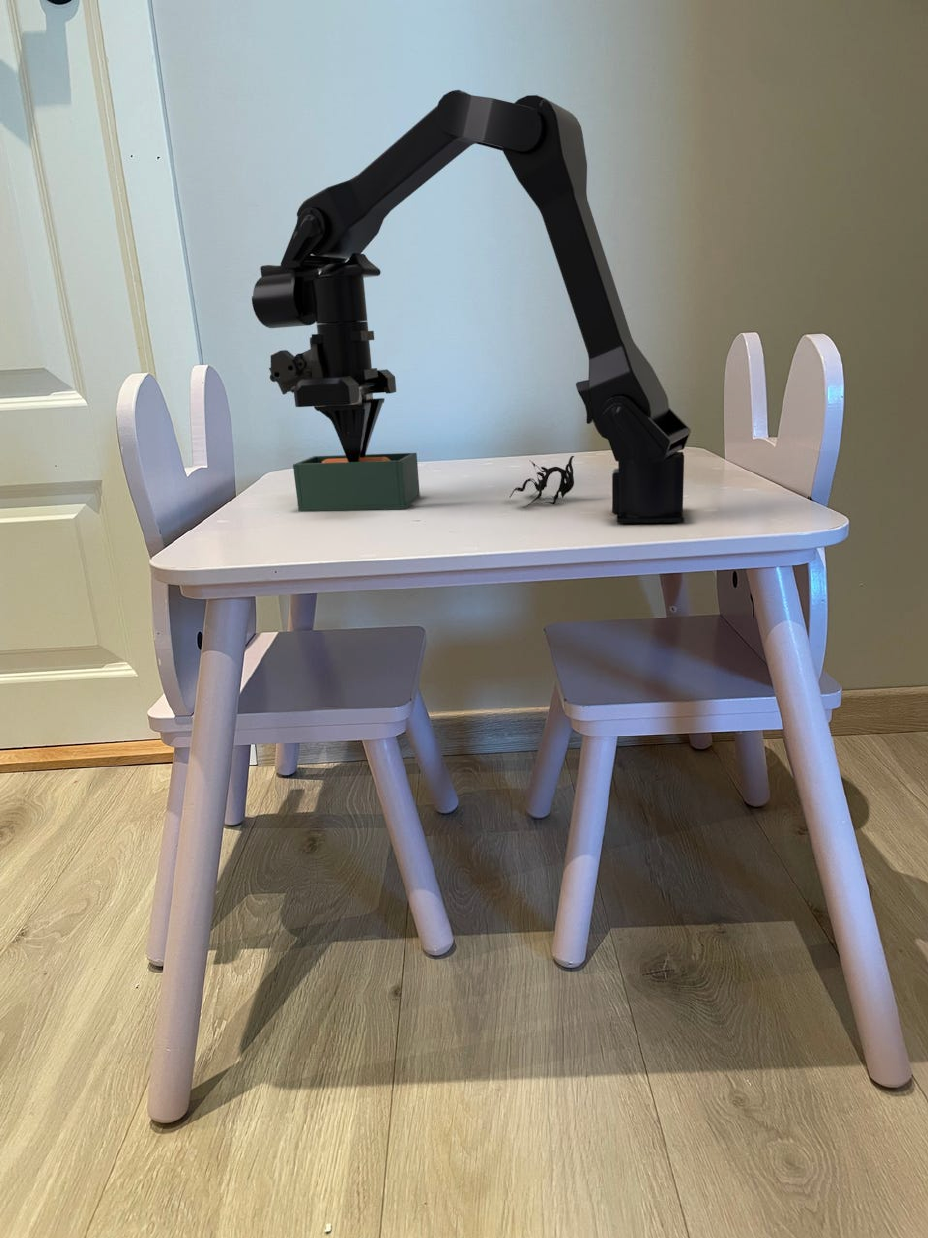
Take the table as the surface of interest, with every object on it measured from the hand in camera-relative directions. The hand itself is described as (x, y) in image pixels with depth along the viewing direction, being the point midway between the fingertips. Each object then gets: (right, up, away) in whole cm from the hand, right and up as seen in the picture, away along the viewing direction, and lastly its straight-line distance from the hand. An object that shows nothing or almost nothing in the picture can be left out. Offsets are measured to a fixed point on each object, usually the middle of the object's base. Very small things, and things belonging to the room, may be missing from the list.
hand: (356, 462), depth 98 cm
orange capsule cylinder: (0, -1, +1) cm, 1 cm away
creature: (+22, -5, -4) cm, 23 cm away
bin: (0, -5, +2) cm, 5 cm away
